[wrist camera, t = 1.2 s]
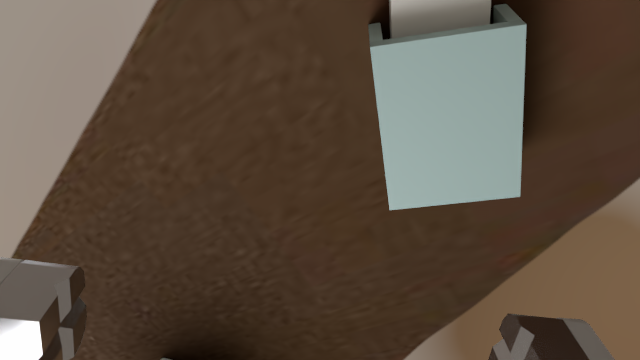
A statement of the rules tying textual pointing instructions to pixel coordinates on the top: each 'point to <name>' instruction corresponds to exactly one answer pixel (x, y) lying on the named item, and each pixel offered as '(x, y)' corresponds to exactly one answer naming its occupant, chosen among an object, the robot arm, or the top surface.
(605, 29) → the top surface
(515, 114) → the case
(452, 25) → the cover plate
